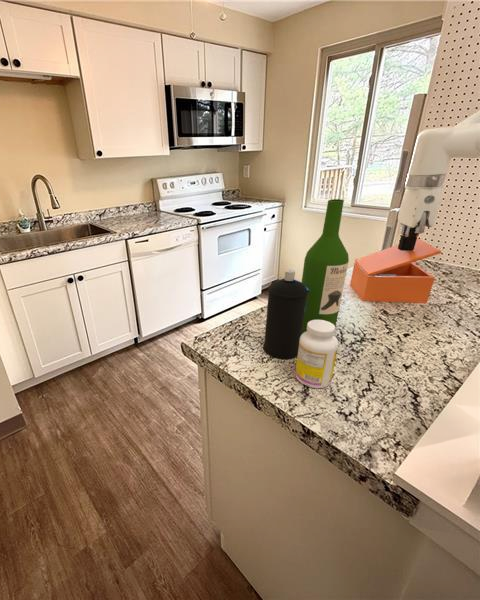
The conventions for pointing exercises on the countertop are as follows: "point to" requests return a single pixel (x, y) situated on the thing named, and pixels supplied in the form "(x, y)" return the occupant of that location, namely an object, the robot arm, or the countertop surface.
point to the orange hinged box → (393, 284)
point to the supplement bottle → (317, 354)
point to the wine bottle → (325, 270)
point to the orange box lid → (395, 257)
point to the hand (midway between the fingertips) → (405, 249)
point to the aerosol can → (285, 316)
